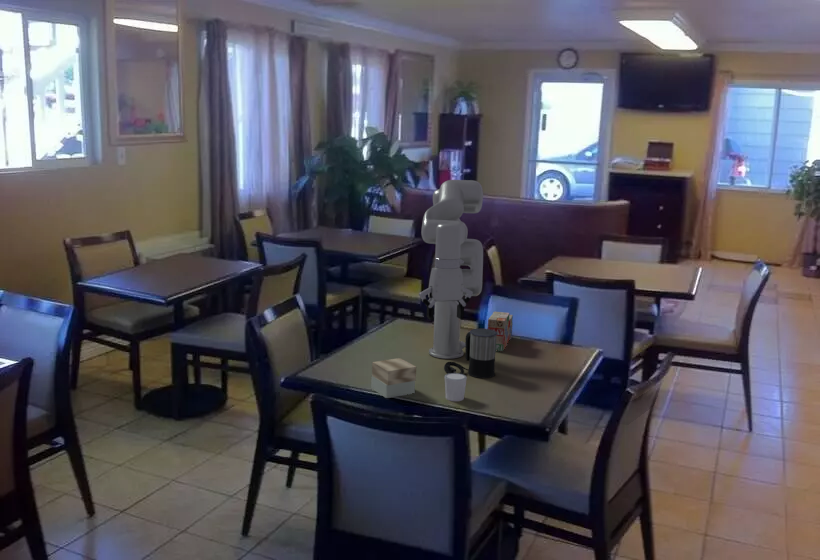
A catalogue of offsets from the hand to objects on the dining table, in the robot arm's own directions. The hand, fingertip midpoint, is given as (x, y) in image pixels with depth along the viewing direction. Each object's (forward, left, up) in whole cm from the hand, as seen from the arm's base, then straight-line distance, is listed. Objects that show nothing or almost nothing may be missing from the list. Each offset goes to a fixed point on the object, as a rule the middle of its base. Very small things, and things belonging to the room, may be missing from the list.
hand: (445, 318), depth 243 cm
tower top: (+13, -8, -20) cm, 25 cm away
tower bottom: (+13, -8, -24) cm, 29 cm away
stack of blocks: (-49, -37, -24) cm, 66 cm away
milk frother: (-18, -11, -24) cm, 32 cm away
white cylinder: (-1, +6, -24) cm, 25 cm away
